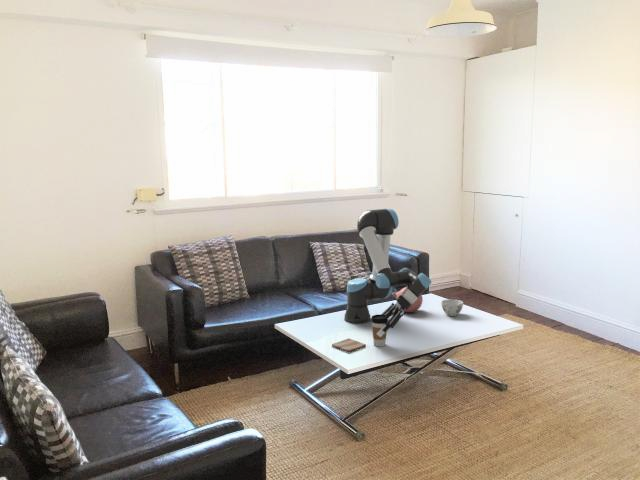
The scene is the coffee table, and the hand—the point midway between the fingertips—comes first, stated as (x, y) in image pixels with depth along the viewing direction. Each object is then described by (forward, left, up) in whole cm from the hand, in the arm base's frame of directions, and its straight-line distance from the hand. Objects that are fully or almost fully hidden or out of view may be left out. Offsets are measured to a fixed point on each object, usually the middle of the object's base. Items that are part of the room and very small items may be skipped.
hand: (375, 332), depth 270 cm
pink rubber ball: (-25, +55, -7) cm, 60 cm away
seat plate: (-8, -11, -6) cm, 15 cm away
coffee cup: (+1, +2, -7) cm, 7 cm away
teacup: (-1, +67, -7) cm, 67 cm away
